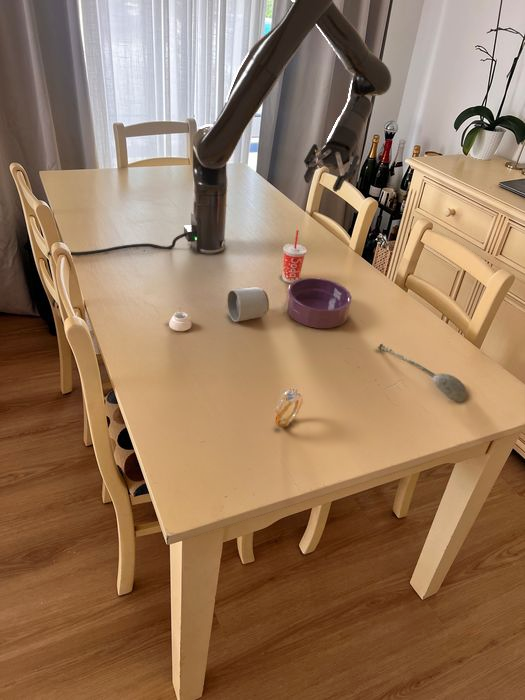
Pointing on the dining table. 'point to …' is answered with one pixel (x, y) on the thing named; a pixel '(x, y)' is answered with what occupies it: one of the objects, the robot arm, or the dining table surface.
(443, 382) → the soupspoon
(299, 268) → the beverage cup
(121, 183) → the dining table surface
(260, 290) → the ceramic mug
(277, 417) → the ring
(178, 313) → the white jar
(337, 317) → the bowl
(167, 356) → the dining table surface
